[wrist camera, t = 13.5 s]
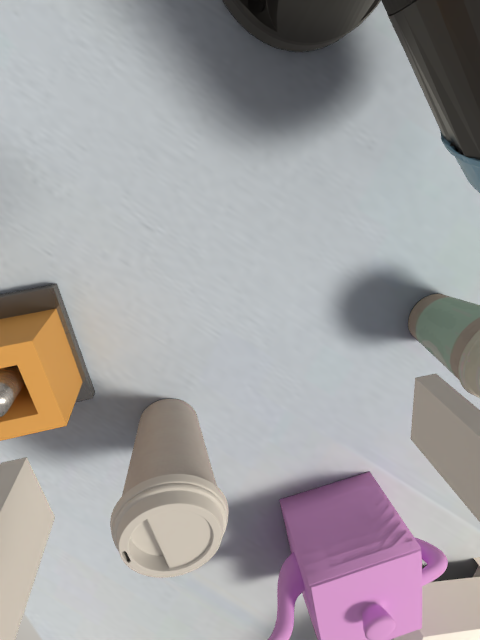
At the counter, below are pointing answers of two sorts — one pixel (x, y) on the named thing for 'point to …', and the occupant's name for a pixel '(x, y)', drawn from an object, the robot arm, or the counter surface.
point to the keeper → (8, 381)
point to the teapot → (352, 564)
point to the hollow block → (38, 373)
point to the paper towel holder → (450, 610)
